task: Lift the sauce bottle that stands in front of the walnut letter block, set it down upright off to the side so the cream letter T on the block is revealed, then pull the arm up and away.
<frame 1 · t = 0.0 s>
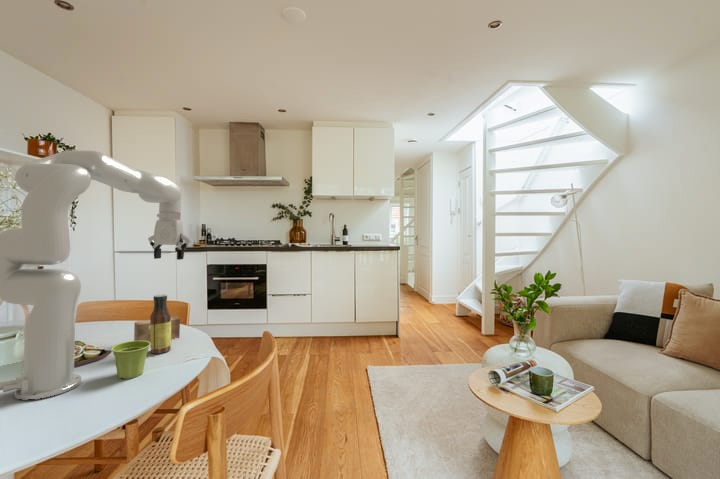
hand: (168, 258, 127), 31 cm above the table, tool pointing down, fingers open, 9 cm apart
sauce bottle: (160, 351, 110), on the table
plant pot: (130, 375, 92), on the table
letter block: (157, 340, 121), on the table
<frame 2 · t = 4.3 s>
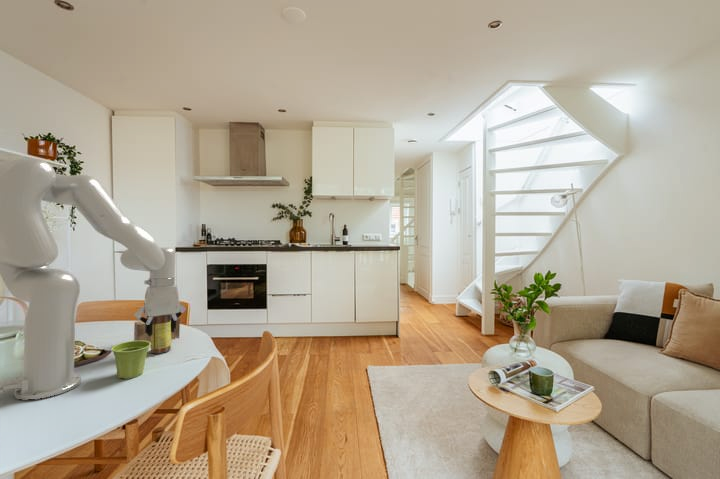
hand: (160, 332, 110), 7 cm above the table, tool pointing down, fingers closed on sauce bottle, 6 cm apart
sauce bottle: (160, 351, 110), on the table, touching gripper
everything else where it was.
when the fingers open (8 cm above the table, at t = 13.7 s): sauce bottle drops 1 cm, on the table.
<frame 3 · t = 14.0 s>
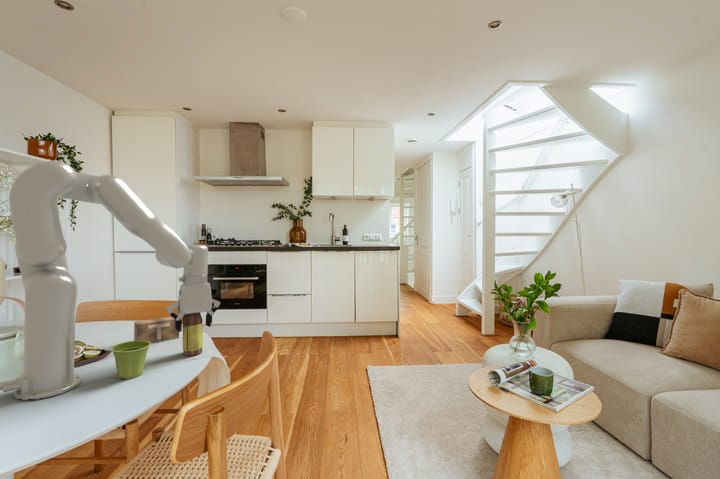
hand: (194, 328, 110), 9 cm above the table, tool pointing down, fingers open, 9 cm apart
sauce bottle: (192, 353, 110), on the table
everything else where it was.
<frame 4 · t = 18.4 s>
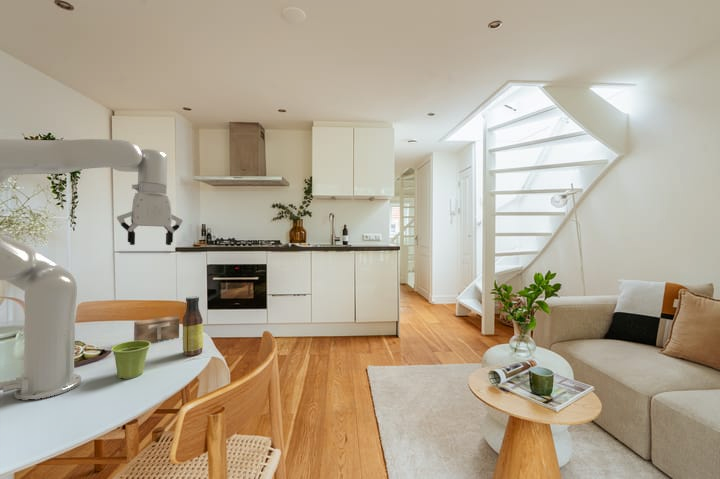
hand: (150, 244, 98), 38 cm above the table, tool pointing down, fingers open, 9 cm apart
nothing on the table moved.
at the end: sauce bottle inside the target area (0.3 cm from its centre), on the table; sauce bottle tilted 0°; letter block moved 0.6 cm from its start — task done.
